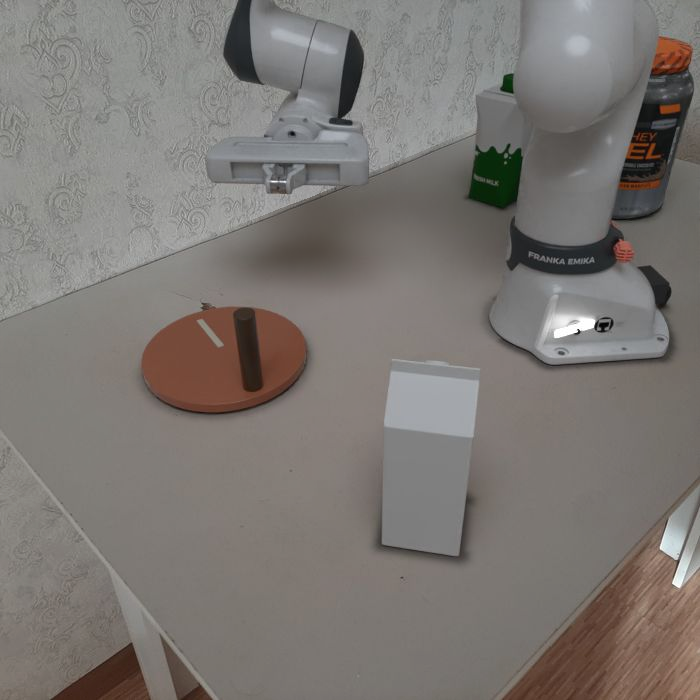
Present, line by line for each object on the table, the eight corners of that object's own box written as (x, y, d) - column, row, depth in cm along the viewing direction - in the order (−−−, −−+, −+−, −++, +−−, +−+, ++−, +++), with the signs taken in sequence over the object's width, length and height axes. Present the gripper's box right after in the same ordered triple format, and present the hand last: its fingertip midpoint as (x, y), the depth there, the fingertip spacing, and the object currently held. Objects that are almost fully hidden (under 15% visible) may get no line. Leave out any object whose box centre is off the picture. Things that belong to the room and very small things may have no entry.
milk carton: (458, 558, 65) (478, 398, 53) (381, 546, 66) (384, 387, 55) (464, 499, 70) (483, 343, 59) (393, 489, 71) (397, 334, 60)
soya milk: (530, 194, 126) (547, 78, 114) (504, 212, 121) (519, 92, 109) (488, 181, 131) (500, 68, 119) (460, 198, 126) (470, 81, 114)
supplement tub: (555, 210, 121) (582, 49, 106) (580, 177, 132) (608, 27, 117) (652, 230, 115) (696, 63, 99) (670, 194, 126) (712, 37, 110)
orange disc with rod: (336, 373, 86) (333, 294, 79) (178, 436, 77) (160, 353, 71) (262, 298, 100) (254, 225, 93) (121, 345, 91) (101, 268, 84)
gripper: (217, 119, 93) (186, 160, 82) (373, 121, 91) (364, 163, 80) (223, 166, 97) (194, 210, 86) (374, 169, 95) (364, 215, 84)
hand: (278, 188), depth 83 cm, fingers closed
